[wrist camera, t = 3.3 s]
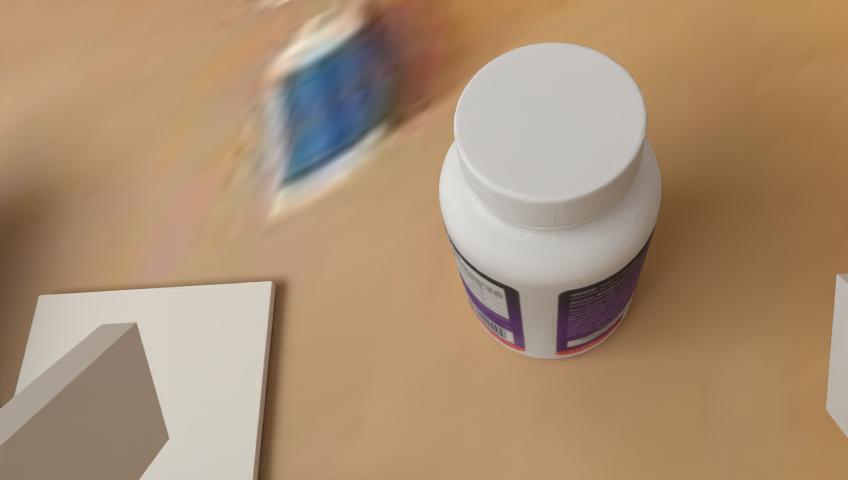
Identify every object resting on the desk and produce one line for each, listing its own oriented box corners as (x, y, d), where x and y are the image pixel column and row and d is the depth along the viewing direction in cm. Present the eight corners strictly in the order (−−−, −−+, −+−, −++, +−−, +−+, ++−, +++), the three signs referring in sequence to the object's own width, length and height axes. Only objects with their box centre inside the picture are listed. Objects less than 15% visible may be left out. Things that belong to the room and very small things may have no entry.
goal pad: (275, 285, 24) (272, 281, 24) (249, 564, 21) (244, 564, 20) (46, 298, 26) (38, 295, 25) (-18, 564, 22) (-27, 564, 22)
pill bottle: (631, 213, 24) (681, 11, 15) (632, 368, 21) (693, 240, 13) (473, 208, 25) (433, 17, 16) (459, 356, 22) (404, 230, 14)
